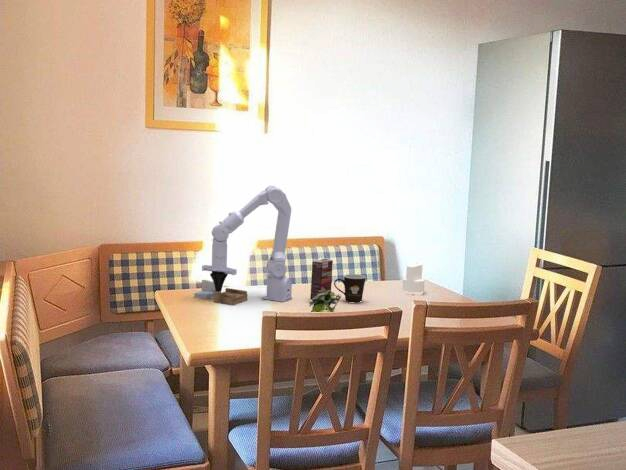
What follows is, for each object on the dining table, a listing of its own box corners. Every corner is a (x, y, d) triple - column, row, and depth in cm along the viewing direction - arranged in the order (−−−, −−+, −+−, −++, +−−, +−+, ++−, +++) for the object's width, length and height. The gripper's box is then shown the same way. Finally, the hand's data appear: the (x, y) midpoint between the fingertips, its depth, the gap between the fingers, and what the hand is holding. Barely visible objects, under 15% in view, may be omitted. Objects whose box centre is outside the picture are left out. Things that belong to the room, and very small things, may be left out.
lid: (201, 290, 272) (201, 295, 272) (194, 293, 267) (194, 298, 268) (214, 292, 269) (214, 297, 270) (207, 295, 265) (206, 300, 265)
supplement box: (320, 303, 266) (322, 263, 264) (309, 301, 269) (311, 261, 266) (331, 299, 273) (333, 260, 271) (321, 297, 276) (323, 258, 274)
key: (224, 295, 271) (224, 280, 270) (219, 296, 269) (219, 281, 268) (205, 290, 278) (205, 276, 277) (200, 291, 276) (201, 277, 275)
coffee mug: (367, 300, 274) (368, 276, 272) (359, 304, 266) (361, 279, 264) (340, 296, 278) (341, 272, 277) (332, 300, 271) (333, 276, 269)
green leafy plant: (320, 326, 253) (332, 298, 257) (339, 328, 244) (351, 298, 248) (298, 312, 247) (312, 283, 251) (317, 313, 239) (330, 283, 243)
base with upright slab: (408, 289, 297) (410, 262, 296) (427, 293, 292) (429, 265, 290) (398, 292, 290) (400, 265, 288) (417, 296, 285) (419, 268, 283)
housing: (247, 300, 266) (247, 290, 265) (233, 305, 257) (233, 295, 256) (227, 296, 269) (227, 287, 269) (213, 302, 260) (213, 292, 260)
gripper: (197, 255, 262) (196, 290, 264) (230, 259, 256) (229, 295, 258) (208, 253, 269) (207, 287, 271) (239, 257, 263) (238, 292, 265)
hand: (218, 290), depth 265 cm, fingers closed
